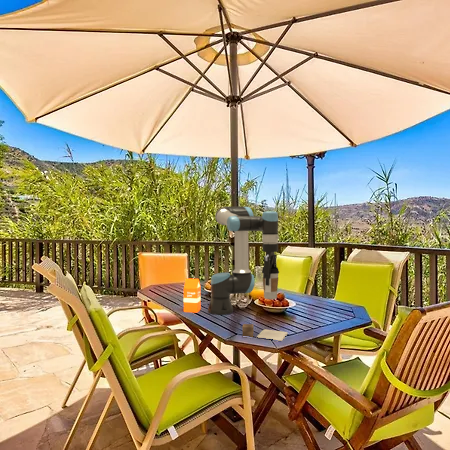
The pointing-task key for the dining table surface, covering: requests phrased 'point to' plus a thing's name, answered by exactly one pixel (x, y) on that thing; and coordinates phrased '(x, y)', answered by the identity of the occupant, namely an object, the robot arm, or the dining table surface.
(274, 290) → the coffee cup
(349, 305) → the dining table surface
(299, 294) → the dining table surface
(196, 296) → the orange juice
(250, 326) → the walnut cube
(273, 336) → the coaster
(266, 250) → the robot arm
